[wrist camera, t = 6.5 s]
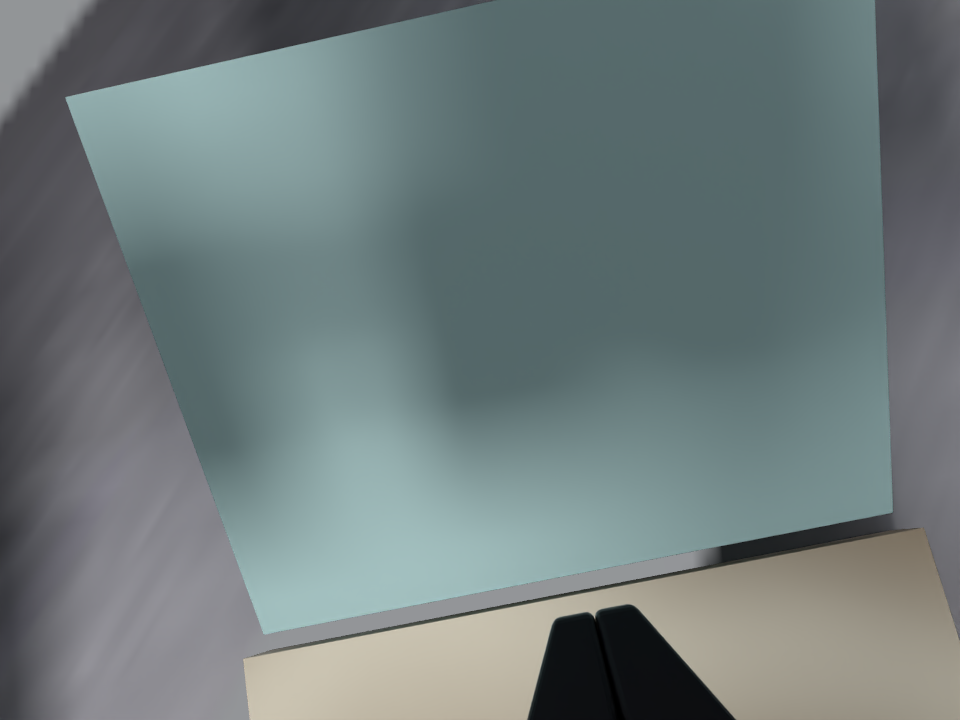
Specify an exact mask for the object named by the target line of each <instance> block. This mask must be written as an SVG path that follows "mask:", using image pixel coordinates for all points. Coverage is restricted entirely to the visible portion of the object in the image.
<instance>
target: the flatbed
mask: <svg viewBox="0 0 960 720" xmlns="http://www.w3.org/2000/svg"><path fill="white" fill-rule="evenodd" d="M625 604H631V605H634V606H635V607H636V608H638V609H639V610H640V611H641V613H642V614H643V615H644V616H645V617H646V618H647V619H648V620H649V622H650V623H651V624H652V625H653V626H654V627H655V628H656V629H657V631H658V632H659V633H660V634H661V635H662V636H663V637H664V639H665V640H666V641H667V642H668V643H669V644H670V645H671V646H672V648H673V649H674V650H675V651H676V652H677V653H678V654H679V655H680V657H681V658H682V659H683V660H684V661H685V662H686V663H687V665H688V666H689V667H690V668H691V669H692V670H693V671H694V672H695V674H696V675H697V676H698V677H699V678H700V679H701V680H702V681H703V683H704V684H705V685H706V686H707V687H708V688H709V689H710V690H711V692H712V693H713V694H714V695H715V696H716V697H717V698H718V700H719V701H720V702H721V703H722V704H723V705H724V706H725V707H726V709H727V710H728V711H729V712H730V713H731V714H732V715H733V716H734V718H735V719H736V720H960V640H959V637H958V634H957V631H956V628H955V625H954V621H953V618H952V615H951V612H950V609H949V606H948V603H947V599H946V596H945V593H944V590H943V587H942V584H941V580H940V577H939V574H938V571H937V568H936V565H935V561H934V558H933V555H932V552H931V549H930V546H929V543H928V539H927V536H926V533H925V530H924V528H914V529H902V530H890V531H885V532H880V533H874V534H869V535H864V536H859V537H854V538H849V539H843V540H838V541H833V542H828V543H823V544H817V545H812V546H807V547H802V548H797V549H792V550H786V551H781V552H776V553H771V554H766V555H760V556H755V557H750V558H745V559H740V560H735V561H729V562H724V563H719V564H714V565H709V566H704V567H698V568H693V569H688V570H683V571H678V572H673V573H668V574H663V575H657V576H652V577H647V578H642V579H636V580H631V581H626V582H621V583H615V584H611V585H605V586H600V587H595V588H590V589H584V590H580V591H574V592H569V593H564V594H559V595H554V596H548V597H543V598H538V599H533V600H527V601H522V602H517V603H512V604H507V605H502V606H497V607H491V608H487V609H481V610H476V611H470V612H465V613H460V614H455V615H450V616H445V617H440V618H434V619H429V620H424V621H419V622H414V623H409V624H404V625H398V626H393V627H388V628H383V629H378V630H372V631H367V632H362V633H357V634H352V635H346V636H341V637H336V638H331V639H326V640H320V641H315V642H310V643H305V644H300V645H294V646H289V647H284V648H279V649H274V650H270V651H266V652H263V653H260V654H257V655H254V656H251V657H248V658H244V659H243V662H244V671H245V680H246V689H247V698H248V707H249V716H250V720H527V718H528V714H529V710H530V706H531V702H532V699H533V695H534V691H535V687H536V683H537V679H538V676H539V672H540V668H541V664H542V660H543V656H544V653H545V649H546V645H547V641H548V637H549V633H550V630H551V626H552V624H553V622H554V620H555V619H556V618H558V617H562V616H567V615H573V614H578V613H583V612H589V613H591V614H592V615H593V616H594V618H595V614H596V612H597V611H598V610H600V609H604V608H609V607H614V606H620V605H625Z"/></svg>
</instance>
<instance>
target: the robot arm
mask: <svg viewBox="0 0 960 720" xmlns="http://www.w3.org/2000/svg"><path fill="white" fill-rule="evenodd" d="M527 720H736V719H735V718H734V716H733V715H732V714H731V713H730V712H729V711H728V710H727V709H726V707H725V706H724V705H723V704H722V703H721V702H720V701H719V700H718V698H717V697H716V696H715V695H714V694H713V693H712V692H711V690H710V689H709V688H708V687H707V686H706V685H705V684H704V683H703V681H702V680H701V679H700V678H699V677H698V676H697V675H696V674H695V672H694V671H693V670H692V669H691V668H690V667H689V666H688V665H687V663H686V662H685V661H684V660H683V659H682V658H681V657H680V655H679V654H678V653H677V652H676V651H675V650H674V649H673V648H672V646H671V645H670V644H669V643H668V642H667V641H666V640H665V639H664V637H663V636H662V635H661V634H660V633H659V632H658V631H657V629H656V628H655V627H654V626H653V625H652V624H651V623H650V622H649V620H648V619H647V618H646V617H645V616H644V615H643V614H642V613H641V611H640V610H639V609H638V608H636V607H635V606H634V605H631V604H625V605H620V606H614V607H609V608H604V609H600V610H598V611H597V612H596V614H595V618H594V616H593V615H592V614H591V613H589V612H583V613H578V614H573V615H567V616H562V617H558V618H556V619H555V620H554V622H553V624H552V626H551V630H550V633H549V637H548V641H547V645H546V649H545V653H544V656H543V660H542V664H541V668H540V672H539V676H538V679H537V683H536V687H535V691H534V695H533V699H532V702H531V706H530V710H529V714H528V718H527Z"/></svg>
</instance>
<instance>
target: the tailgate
mask: <svg viewBox="0 0 960 720" xmlns="http://www.w3.org/2000/svg"><path fill="white" fill-rule="evenodd" d="M65 98H66V101H67V103H68V106H69V109H70V111H71V114H72V117H73V120H74V122H75V125H76V128H77V130H78V133H79V136H80V139H81V141H82V144H83V147H84V149H85V152H86V155H87V157H88V160H89V163H90V166H91V168H92V171H93V174H94V176H95V179H96V182H97V184H98V187H99V190H100V193H101V195H102V198H103V201H104V203H105V206H106V209H107V211H108V214H109V217H110V220H111V222H112V225H113V228H114V230H115V233H116V236H117V239H118V241H119V244H120V247H121V249H122V252H123V255H124V257H125V260H126V263H127V266H128V268H129V271H130V274H131V276H132V279H133V282H134V284H135V287H136V290H137V293H138V295H139V298H140V301H141V303H142V306H143V309H144V312H145V314H146V317H147V320H148V322H149V325H150V328H151V330H152V333H153V336H154V339H155V341H156V344H157V347H158V349H159V352H160V355H161V357H162V360H163V363H164V366H165V368H166V371H167V374H168V376H169V379H170V382H171V384H172V387H173V390H174V393H175V395H176V398H177V401H178V403H179V406H180V409H181V412H182V414H183V417H184V420H185V422H186V425H187V428H188V430H189V433H190V436H191V439H192V441H193V444H194V447H195V449H196V452H197V455H198V457H199V460H200V463H201V466H202V468H203V471H204V474H205V476H206V479H207V482H208V484H209V487H210V490H211V493H212V495H213V498H214V501H215V503H216V506H217V509H218V512H219V514H220V517H221V520H222V522H223V525H224V528H225V530H226V533H227V536H228V539H229V541H230V544H231V547H232V549H233V552H234V555H235V557H236V560H237V563H238V566H239V568H240V571H241V574H242V576H243V579H244V582H245V585H246V587H247V590H248V593H249V595H250V598H251V601H252V603H253V606H254V609H255V612H256V614H257V617H258V620H259V622H260V625H261V628H262V630H263V633H264V635H265V634H270V633H275V632H280V631H285V630H291V629H295V628H300V627H306V626H311V625H316V624H321V623H326V622H331V621H337V620H342V619H347V618H352V617H358V616H363V615H368V614H373V613H378V612H383V611H388V610H393V609H399V608H404V607H409V606H414V605H419V604H424V603H429V602H435V601H440V600H445V599H450V598H455V597H461V596H465V595H471V594H476V593H481V592H486V591H492V590H497V589H501V588H507V587H512V586H517V585H522V584H528V583H533V582H538V581H543V580H548V579H553V578H559V577H564V576H569V575H574V574H579V573H584V572H590V571H594V570H600V569H605V568H610V567H615V566H620V565H626V564H631V563H636V562H641V561H646V560H651V559H656V558H661V557H666V556H671V555H677V554H682V553H687V552H693V551H698V550H703V549H708V548H713V547H718V546H724V545H729V544H734V543H739V542H744V541H749V540H754V539H760V538H765V537H770V536H775V535H780V534H785V533H791V532H796V531H801V530H806V529H811V528H816V527H821V526H827V525H832V524H837V523H842V522H847V521H852V520H858V519H863V518H868V517H873V516H878V515H883V514H889V513H893V498H892V470H891V442H890V414H889V386H888V357H887V329H886V301H885V273H884V245H883V216H882V188H881V160H880V132H879V104H878V76H877V47H876V19H875V0H495V1H490V2H486V3H481V4H477V5H472V6H468V7H464V8H459V9H455V10H450V11H446V12H441V13H437V14H433V15H428V16H424V17H419V18H415V19H410V20H406V21H402V22H397V23H393V24H388V25H384V26H379V27H375V28H371V29H366V30H362V31H357V32H353V33H348V34H344V35H340V36H335V37H331V38H326V39H322V40H317V41H313V42H308V43H304V44H300V45H295V46H291V47H286V48H282V49H277V50H273V51H269V52H264V53H260V54H255V55H251V56H246V57H242V58H238V59H233V60H229V61H224V62H220V63H215V64H211V65H207V66H202V67H198V68H193V69H189V70H184V71H180V72H176V73H171V74H167V75H162V76H158V77H153V78H149V79H144V80H140V81H136V82H131V83H127V84H122V85H118V86H113V87H109V88H105V89H100V90H96V91H91V92H87V93H82V94H78V95H74V96H69V97H65Z"/></svg>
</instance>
